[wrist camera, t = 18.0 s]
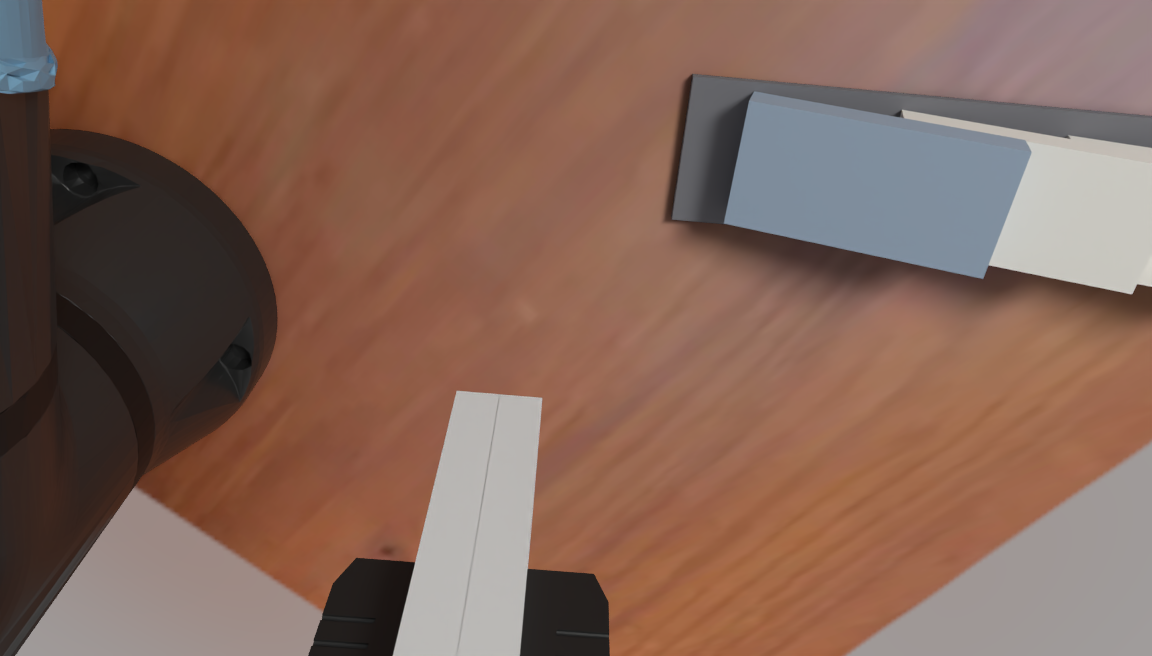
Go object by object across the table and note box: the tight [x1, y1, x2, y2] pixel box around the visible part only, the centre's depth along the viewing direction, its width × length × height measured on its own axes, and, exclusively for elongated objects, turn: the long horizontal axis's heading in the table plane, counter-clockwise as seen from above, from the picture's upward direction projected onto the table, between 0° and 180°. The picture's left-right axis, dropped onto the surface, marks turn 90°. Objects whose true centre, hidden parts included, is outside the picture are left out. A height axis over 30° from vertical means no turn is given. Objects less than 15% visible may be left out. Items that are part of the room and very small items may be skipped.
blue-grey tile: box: [724, 91, 1032, 279], centre depth 33 cm, size 2×5×10 cm
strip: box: [671, 74, 1152, 225], centre depth 35 cm, size 26×6×1 cm, turn 85°
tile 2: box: [900, 110, 1152, 294], centre depth 33 cm, size 2×5×10 cm
